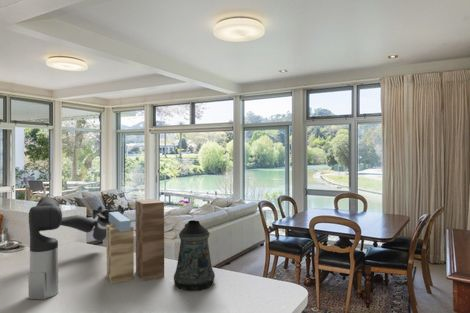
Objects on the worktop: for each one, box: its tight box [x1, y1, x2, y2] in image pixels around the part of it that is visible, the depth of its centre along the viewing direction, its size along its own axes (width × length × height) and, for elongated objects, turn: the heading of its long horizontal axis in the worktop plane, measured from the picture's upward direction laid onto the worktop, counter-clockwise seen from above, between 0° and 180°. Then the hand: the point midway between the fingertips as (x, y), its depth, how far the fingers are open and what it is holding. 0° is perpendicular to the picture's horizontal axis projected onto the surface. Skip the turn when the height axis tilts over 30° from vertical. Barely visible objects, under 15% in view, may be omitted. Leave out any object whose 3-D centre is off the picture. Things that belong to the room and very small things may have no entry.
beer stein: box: [173, 220, 216, 292], centre depth 137 cm, size 16×19×25 cm
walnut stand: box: [134, 198, 165, 282], centre depth 147 cm, size 12×9×32 cm
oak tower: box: [106, 224, 135, 284], centre depth 143 cm, size 10×9×22 cm
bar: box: [109, 211, 132, 232], centre depth 144 cm, size 24×4×4 cm, turn 31°
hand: (110, 207), depth 159 cm, fingers open, 8 cm apart
